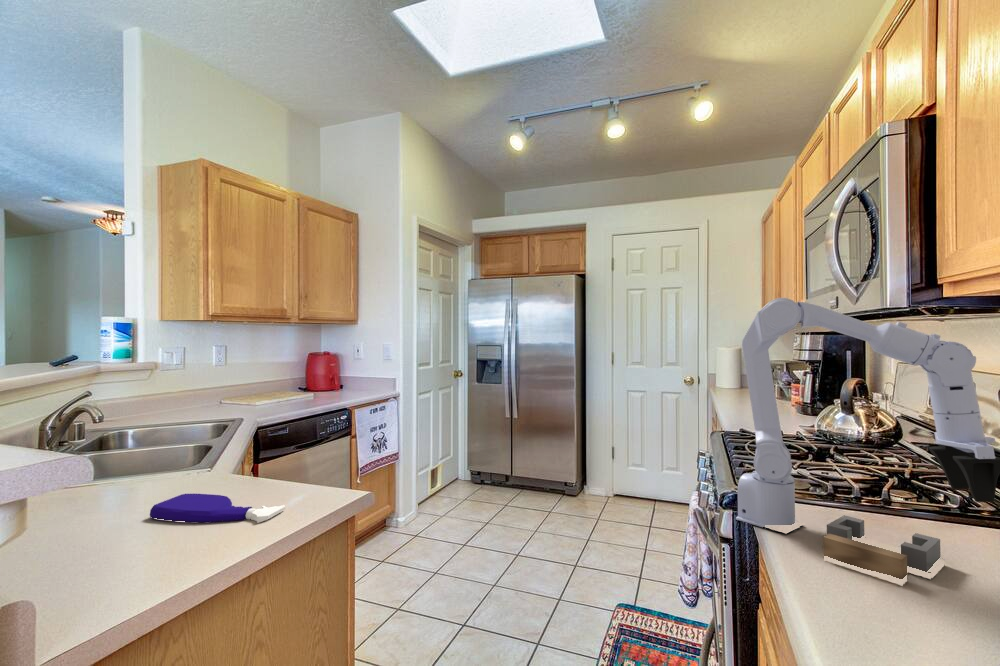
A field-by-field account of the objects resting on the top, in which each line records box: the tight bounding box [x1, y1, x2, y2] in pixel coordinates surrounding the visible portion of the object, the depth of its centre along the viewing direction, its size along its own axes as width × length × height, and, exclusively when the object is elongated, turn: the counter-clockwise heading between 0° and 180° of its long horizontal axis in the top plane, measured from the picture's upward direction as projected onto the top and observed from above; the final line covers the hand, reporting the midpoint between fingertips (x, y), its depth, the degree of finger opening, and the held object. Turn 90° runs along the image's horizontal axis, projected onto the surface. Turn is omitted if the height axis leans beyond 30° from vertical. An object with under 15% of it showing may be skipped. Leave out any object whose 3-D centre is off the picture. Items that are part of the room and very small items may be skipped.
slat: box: [822, 533, 908, 579], centre depth 73 cm, size 10×2×4 cm, turn 35°
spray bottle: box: [149, 493, 286, 524], centre depth 96 cm, size 3×11×24 cm
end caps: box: [826, 515, 942, 572], centre depth 78 cm, size 13×8×3 cm, turn 36°
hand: (971, 494), depth 77 cm, fingers open, 7 cm apart
